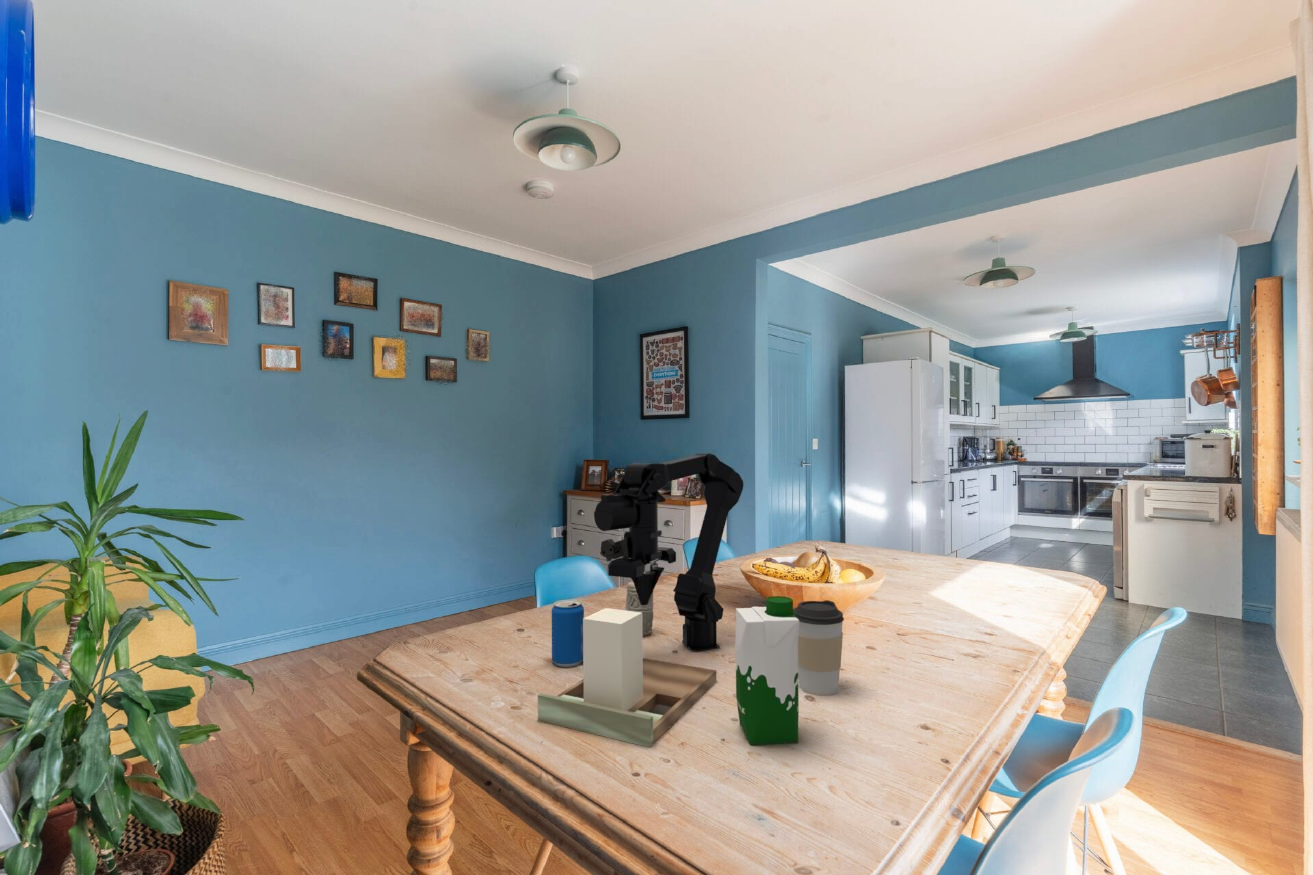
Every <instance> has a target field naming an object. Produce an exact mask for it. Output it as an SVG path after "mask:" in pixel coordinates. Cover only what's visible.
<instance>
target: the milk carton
mask: <svg viewBox="0 0 1313 875" xmlns="http://www.w3.org/2000/svg"><path fill="white" fill-rule="evenodd" d="M793 610H794V599H793V598H791V597H788V596H783V595H781V596H780V595H775V596H774V595H773V596H772V595H771V596H769V597H767V598H765V606H751V607H743V608H742V607H738V608H737V607H736V608H735V693H736V694H735V697H736V698H735V699H736V706H737V713H738V721H739V724H740V726H741V729H742V732H743V733H744V735H745V738H746V739H747V741H748V743H749V745H750V746H757V745H758V746H759V745H760V746H761V745H776V744H777V745H780V744H795V743H796V744H797V743H798V742H799V711H800V710H799V709H800V708H799V706H800V705H799V704H800V703H799V698H800V697H799V696H800V695H799V679H798V632H799V619H797V617H796V616H795V613H794V612H793Z"/></svg>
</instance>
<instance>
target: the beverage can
mask: <svg viewBox="0 0 1313 875" xmlns="http://www.w3.org/2000/svg"><path fill="white" fill-rule="evenodd" d="M583 618H585V608H584V605H583V603H582V601H581V600H578V599H573V598H571V599H562V600H561V599H560V600H556V601H555V602H553V606H552V608H551V661H552V663H554V664H555V665H556V666H558V667H561V668H571V667H575V666H578V665H580V664H581V662H583Z"/></svg>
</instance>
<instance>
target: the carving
mask: <svg viewBox="0 0 1313 875" xmlns="http://www.w3.org/2000/svg"><path fill="white" fill-rule="evenodd" d="M626 592H627V593H626V599H625V609H624V610H625V611H633V612H641V613H642V634H643V637H646V636H648V635H649V634H651V631H652V630H653V622H654V591H653V592H652V595H651V597H650V599H649V602H648V604H647V605H641V603H640V600H639V597H638V594H637V591H636V588H635V585H634V583H633V580H631V581H629V582H628V583H627V584H626Z"/></svg>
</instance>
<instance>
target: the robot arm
mask: <svg viewBox="0 0 1313 875" xmlns="http://www.w3.org/2000/svg"><path fill="white" fill-rule="evenodd" d="M625 467H626V468H625V470H624V473H623V476H622V478H621V479H620V480H619V483H618V485H617V487H616V488H615V489H614V491H613V494H606V493H605V494H601V495H600V501H599V502H598V503H597V504H596V505H595V506H596V507H595V510H594V512H593V519H594V523H595V525H596V526H597V528H598V529H599V530H600V531H602V532H607V531H616V530H622V529H628V531H624V534H623V538H622V539H621V540H617V541H614V540H613V539H612V538H609V539H605V540H602V541H601V544H600V552H599V553H600V555H601V556H602V557H604V558H605V559H606V562H609V563H608V564H607V576H608V577H616V578H617V577H618V578H627V579H628V578H629V579H630V580H631V581H633V583H634V585H635V588H636V591H637V594H638V597H639V600H640V603H641V605H647V604H648V602H649V599H650V597H651V595H652V592H653V593H654V590H655V589H656V585H657V583H658V581H659V579H660V577H661V575H662V573H663V571H665V567H662V566H659V563H657V562H659V561H662V562H663V561H664V562H665V561H667V563H668V564H673V563H676V562H677V552H676V551H675V549H673V547H664V546H663V547H662V546H659V543H658V542H659V537H661V536H663V535H662V533H663V532H662V530H661V529H658V528H659V526H658V524H659V522H658V521H659V520H658V517H659V516H658V515H659V514H658V512H659V510H658V506H659V505H658V503H665V502H666V501H667V500H666V498H665V497H664V496H663V495H662V494H661V493H660V492H659V491H660V490H662V489H663V488H665V487H668V484H669V483H671V482H673V481H677V480H679V479H680V480H681V479H684V478H687V477H692V476H696V475H697V479H698V482H700V483H701V485H703V487H704V490H703V496H704V500H705V504H706V509H705V511H704V512H705V513H704V517H703V521H702V524H701V528H700V531H699V535H698V538H697V542H696V546H695V550H694V553H693V558H692V560H691V564H690V567H689V569H688V570H687V571H686V572H685V573H681V572H680V573H679V574H678V576H677V577H676V578H677V579H676V583H675V584H676V585H675V587H674V588H673V592H674V596H673V601H674V602H675V606H676V609H677V611H678V615H679V616H681V617H684V623H683V624H682V640H681V643H682V644H683V645H684V646H686V647H687V649H689V650H690V651H691V652H700V651H701V652H702V651H707V650H716V649H721V645H720V644H718V643H717V639H718V638H717V636H718V635H717V632H718V631H717V623H718V622H719V620H722V619H723V616H724V610H725V609H724V608H723V607H722V605H721V604H720V603H719V601H718V600H717V599H716V590H717V588H716V583H715V579H714V576H713V574H714V570H715V566H716V562H717V558H718V553H719V550H720V546H721V542H722V538H723V536H724V535H723V534H724V530H725V526H726V523H727V519H728V515H729V513H730V511H732V509H733V508H734V507H735V506H736V505H737V503H738V502H739V500H740V498H741V495H742V493H743V490H744V480H743V479H742V477H741V475H740V474H739V473H738V472H737V471H736V470H735V469H734V468H733V467H731V466H729V465H728V464H727V463H725V462H723V461H721V460H720V459H719V458H718V457H717V456H716V455H715V454H713V453H711V452H710V453H707V452H705V453H701V452H700V453H697V452H696V454H694V455H690V456H686V457H681V458H677V459H672V460H669V461H665V462H659V463H653V462H652V463H650V462H649V463H648V462H647V463H646V462H645V463H644V462H643V463H641V462H632V463H630V464H628V465H627V466H625Z"/></svg>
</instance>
